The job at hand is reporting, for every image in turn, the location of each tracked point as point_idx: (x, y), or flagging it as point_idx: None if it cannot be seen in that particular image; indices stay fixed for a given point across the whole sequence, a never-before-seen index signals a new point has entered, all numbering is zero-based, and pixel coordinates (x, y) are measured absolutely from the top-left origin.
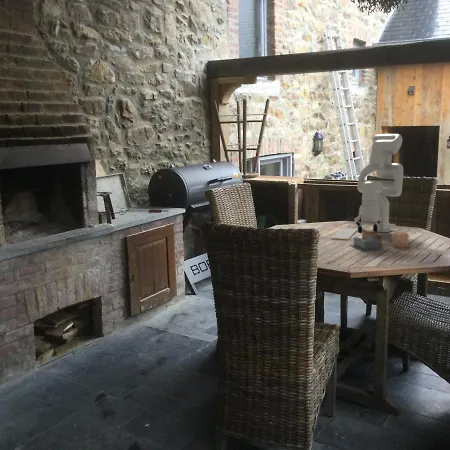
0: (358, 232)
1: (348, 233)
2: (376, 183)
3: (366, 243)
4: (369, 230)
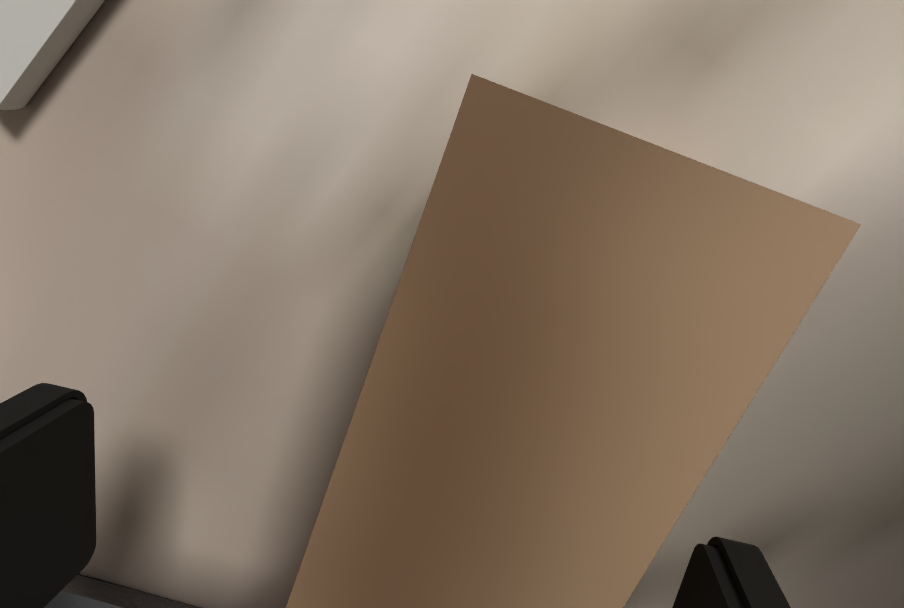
0: (50, 397)
1: None
2: None
3: None
4: (472, 588)
